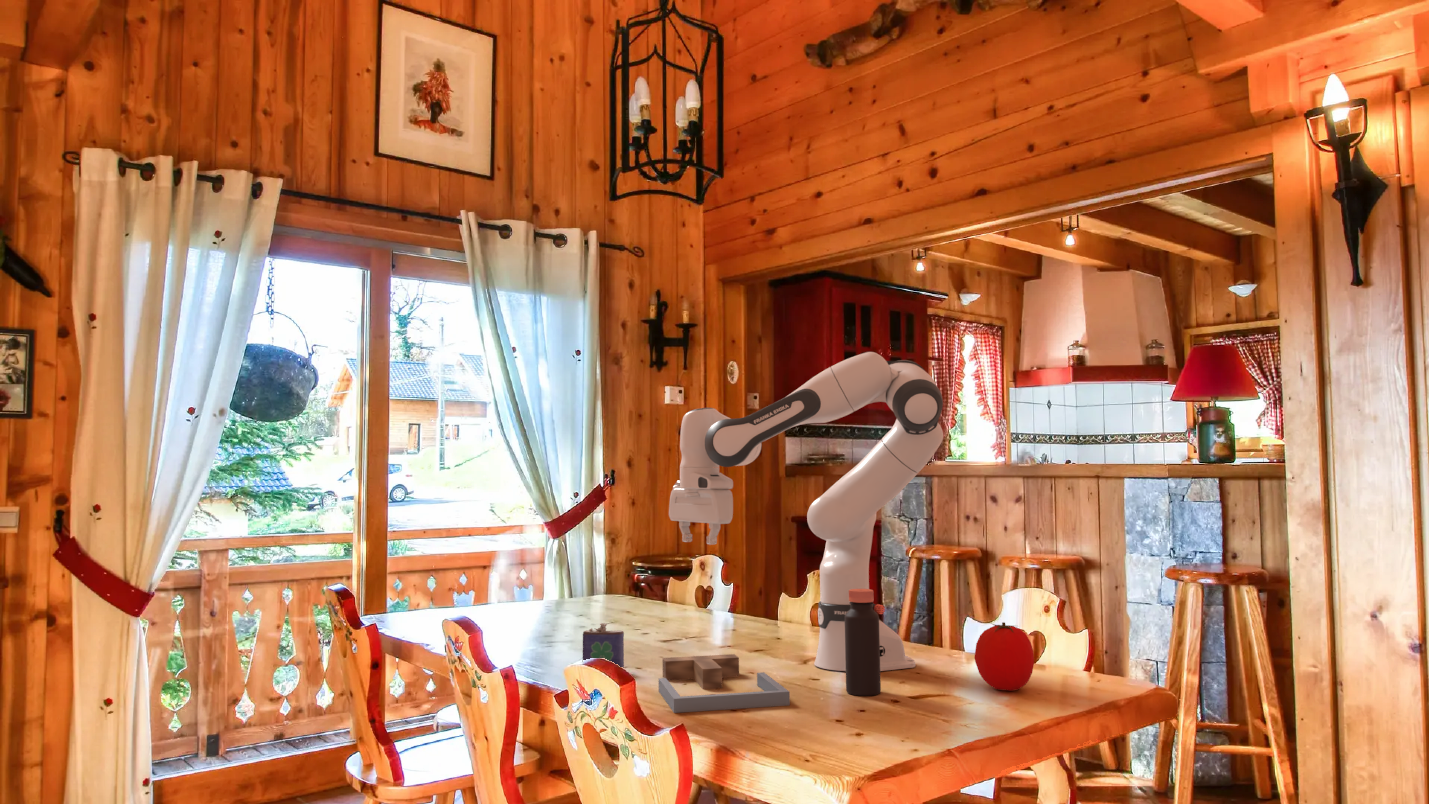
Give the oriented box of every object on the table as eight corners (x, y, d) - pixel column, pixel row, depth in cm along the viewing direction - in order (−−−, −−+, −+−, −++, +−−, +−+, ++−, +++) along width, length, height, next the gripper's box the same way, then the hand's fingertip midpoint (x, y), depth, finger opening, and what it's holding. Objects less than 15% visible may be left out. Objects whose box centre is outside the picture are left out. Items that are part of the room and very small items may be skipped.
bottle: (840, 690, 187) (838, 588, 189) (872, 687, 189) (869, 587, 191) (854, 697, 181) (851, 592, 183) (886, 695, 183) (884, 591, 184)
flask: (624, 670, 209) (624, 621, 210) (622, 673, 206) (622, 623, 207) (583, 670, 210) (583, 622, 210) (581, 673, 207) (580, 624, 207)
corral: (764, 684, 193) (764, 672, 193) (789, 705, 176) (789, 691, 176) (658, 691, 188) (658, 678, 189) (673, 712, 171) (673, 698, 171)
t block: (734, 672, 206) (734, 654, 206) (750, 686, 192) (750, 666, 192) (662, 676, 202) (662, 657, 203) (673, 691, 189) (673, 670, 189)
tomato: (1050, 691, 184) (1047, 623, 185) (1006, 699, 178) (1003, 629, 179) (1004, 680, 194) (1002, 616, 195) (961, 688, 188) (959, 621, 189)
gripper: (662, 480, 216) (662, 541, 215) (714, 480, 199) (714, 546, 198) (685, 480, 220) (684, 540, 218) (738, 480, 203) (738, 545, 202)
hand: (699, 543), depth 208 cm, fingers open, 8 cm apart
